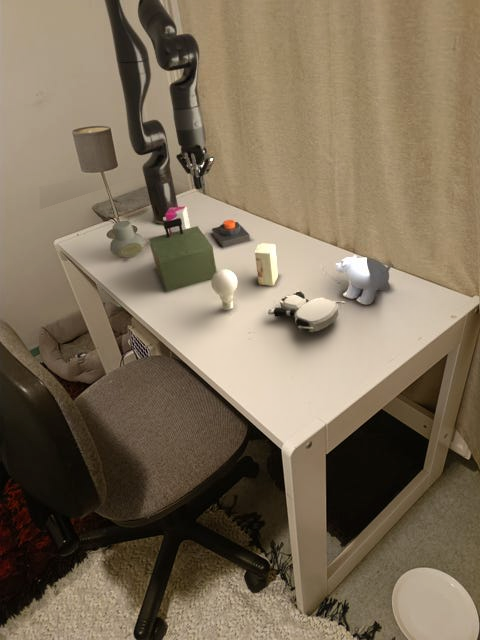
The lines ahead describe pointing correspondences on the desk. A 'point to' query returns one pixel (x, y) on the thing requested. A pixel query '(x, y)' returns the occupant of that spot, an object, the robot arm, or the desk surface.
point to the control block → (230, 235)
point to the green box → (186, 269)
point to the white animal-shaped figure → (364, 277)
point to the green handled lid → (179, 242)
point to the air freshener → (126, 240)
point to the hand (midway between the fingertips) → (200, 188)
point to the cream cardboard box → (266, 264)
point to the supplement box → (178, 213)
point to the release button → (229, 224)
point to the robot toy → (307, 311)
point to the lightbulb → (225, 286)
